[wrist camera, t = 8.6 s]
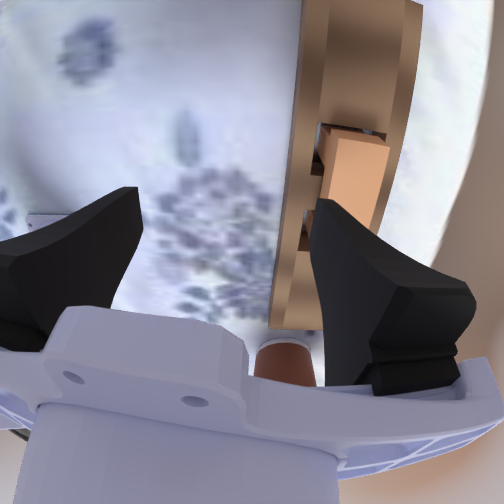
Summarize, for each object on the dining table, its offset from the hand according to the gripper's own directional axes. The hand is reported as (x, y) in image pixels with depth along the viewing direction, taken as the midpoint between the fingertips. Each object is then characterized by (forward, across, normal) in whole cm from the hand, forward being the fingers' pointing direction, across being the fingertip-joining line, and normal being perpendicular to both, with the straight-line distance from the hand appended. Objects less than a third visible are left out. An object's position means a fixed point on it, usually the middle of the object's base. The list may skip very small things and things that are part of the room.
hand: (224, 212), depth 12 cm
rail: (+10, -7, +2) cm, 12 cm away
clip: (+10, -7, +2) cm, 12 cm away
